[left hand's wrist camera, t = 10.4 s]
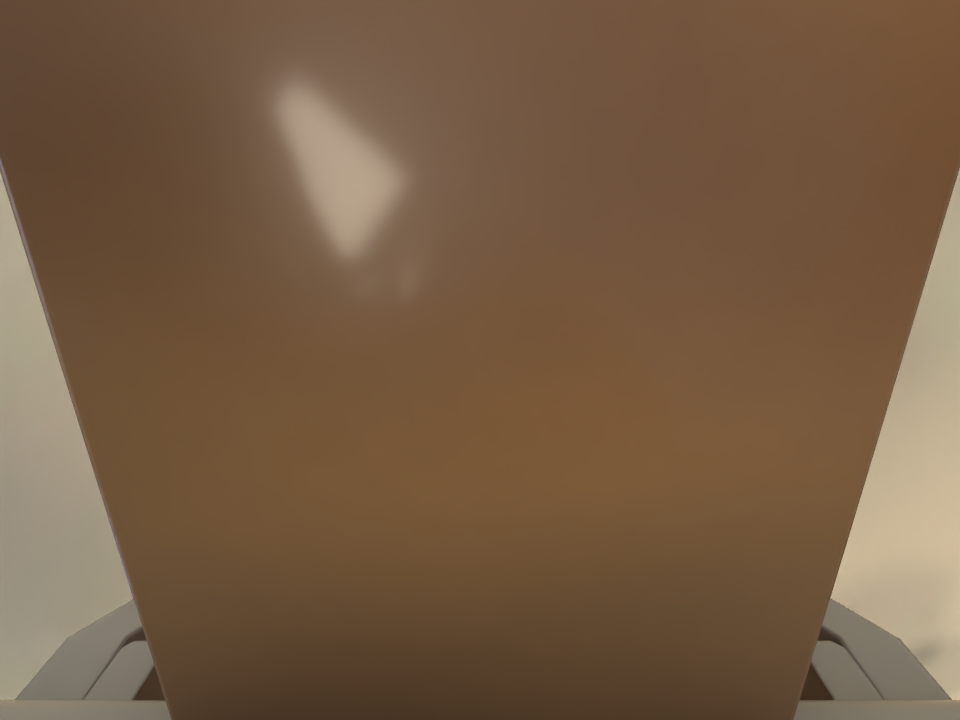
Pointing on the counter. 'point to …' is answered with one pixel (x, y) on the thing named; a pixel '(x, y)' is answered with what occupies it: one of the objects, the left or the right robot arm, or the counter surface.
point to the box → (480, 332)
